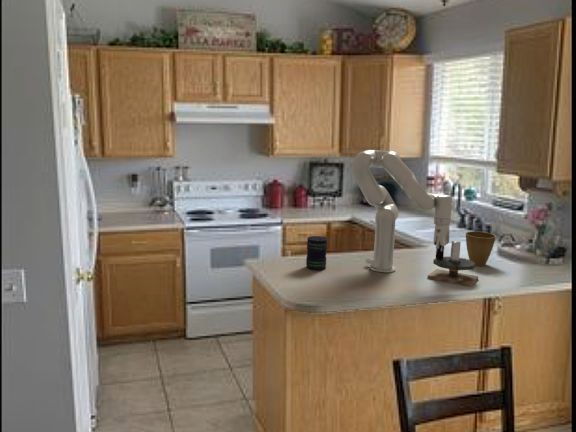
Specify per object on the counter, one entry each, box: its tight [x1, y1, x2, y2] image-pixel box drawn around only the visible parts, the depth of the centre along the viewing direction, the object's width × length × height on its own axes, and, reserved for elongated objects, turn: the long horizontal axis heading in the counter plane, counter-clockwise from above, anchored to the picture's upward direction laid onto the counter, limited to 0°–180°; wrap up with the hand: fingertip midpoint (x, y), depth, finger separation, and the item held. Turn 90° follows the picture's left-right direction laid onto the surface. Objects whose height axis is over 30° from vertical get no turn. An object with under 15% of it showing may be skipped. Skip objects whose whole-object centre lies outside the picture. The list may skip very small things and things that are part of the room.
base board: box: [426, 268, 479, 287], centre depth 266 cm, size 20×14×2 cm
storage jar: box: [305, 235, 328, 272], centre depth 275 cm, size 10×10×15 cm
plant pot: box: [465, 230, 497, 267], centre depth 294 cm, size 15×15×16 cm
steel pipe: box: [448, 240, 462, 277], centre depth 265 cm, size 4×4×16 cm
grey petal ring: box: [432, 256, 476, 271], centre depth 265 cm, size 18×18×2 cm
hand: (439, 258), depth 268 cm, fingers closed
